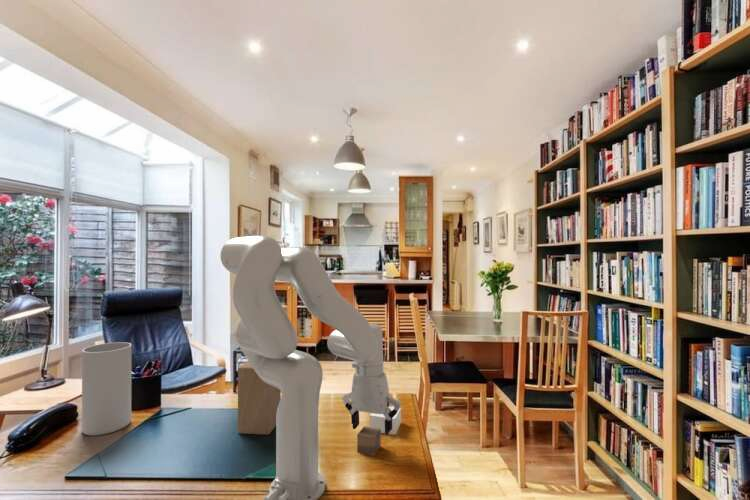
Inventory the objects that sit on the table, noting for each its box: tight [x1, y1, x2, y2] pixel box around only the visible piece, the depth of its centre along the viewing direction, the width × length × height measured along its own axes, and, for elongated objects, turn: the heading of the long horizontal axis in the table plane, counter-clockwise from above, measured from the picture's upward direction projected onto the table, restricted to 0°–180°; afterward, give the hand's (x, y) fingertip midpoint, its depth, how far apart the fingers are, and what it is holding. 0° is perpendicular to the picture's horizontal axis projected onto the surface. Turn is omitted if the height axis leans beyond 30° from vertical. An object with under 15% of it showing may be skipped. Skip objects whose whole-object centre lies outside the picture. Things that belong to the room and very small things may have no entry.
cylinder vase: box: [81, 341, 133, 437], centre depth 114 cm, size 12×12×25 cm
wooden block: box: [237, 360, 282, 436], centre depth 114 cm, size 10×10×20 cm
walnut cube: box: [356, 426, 382, 457], centre depth 101 cm, size 5×5×5 cm
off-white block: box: [369, 406, 402, 436], centre depth 114 cm, size 8×8×5 cm
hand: (371, 429), depth 102 cm, fingers open, 9 cm apart
